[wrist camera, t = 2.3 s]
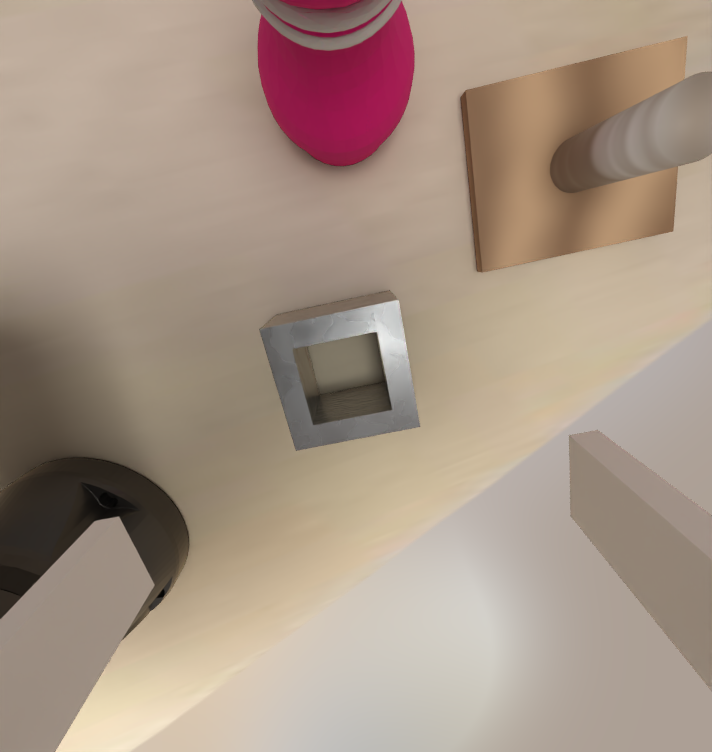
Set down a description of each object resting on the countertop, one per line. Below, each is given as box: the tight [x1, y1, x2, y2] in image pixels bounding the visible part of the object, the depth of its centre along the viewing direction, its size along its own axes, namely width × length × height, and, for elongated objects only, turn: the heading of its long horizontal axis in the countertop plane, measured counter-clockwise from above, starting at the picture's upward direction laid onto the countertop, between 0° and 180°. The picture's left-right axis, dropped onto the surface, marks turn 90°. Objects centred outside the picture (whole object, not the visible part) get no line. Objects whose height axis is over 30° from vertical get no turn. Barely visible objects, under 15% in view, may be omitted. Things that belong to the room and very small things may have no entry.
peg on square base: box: [461, 36, 712, 272], centre depth 18 cm, size 12×10×9 cm
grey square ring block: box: [259, 290, 420, 451], centre depth 24 cm, size 8×8×5 cm
